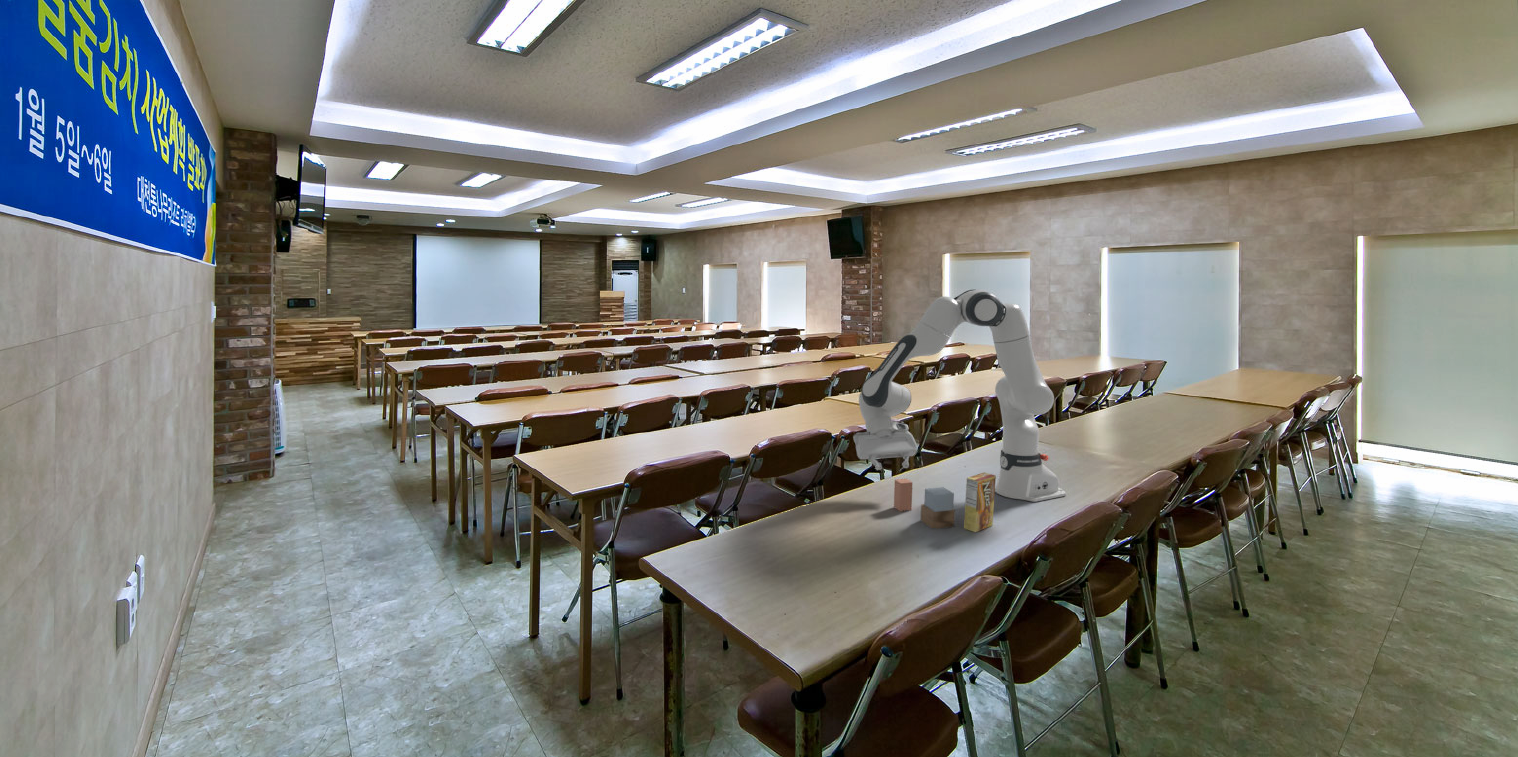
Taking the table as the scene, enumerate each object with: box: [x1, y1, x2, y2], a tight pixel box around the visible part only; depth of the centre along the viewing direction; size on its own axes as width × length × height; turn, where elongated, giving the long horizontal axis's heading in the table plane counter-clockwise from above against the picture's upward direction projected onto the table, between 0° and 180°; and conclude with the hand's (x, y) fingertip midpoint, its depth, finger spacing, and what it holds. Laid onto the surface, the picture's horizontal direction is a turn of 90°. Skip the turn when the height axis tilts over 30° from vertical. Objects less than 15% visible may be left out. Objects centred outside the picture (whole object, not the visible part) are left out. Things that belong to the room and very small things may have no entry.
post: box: [893, 478, 913, 512], centre depth 211 cm, size 4×4×9 cm
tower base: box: [920, 503, 956, 530], centre depth 199 cm, size 7×7×5 cm
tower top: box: [923, 486, 955, 512], centre depth 198 cm, size 6×6×5 cm
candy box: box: [963, 472, 997, 533], centre depth 195 cm, size 9×4×15 cm, turn 129°
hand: (893, 468), depth 217 cm, fingers open, 8 cm apart
